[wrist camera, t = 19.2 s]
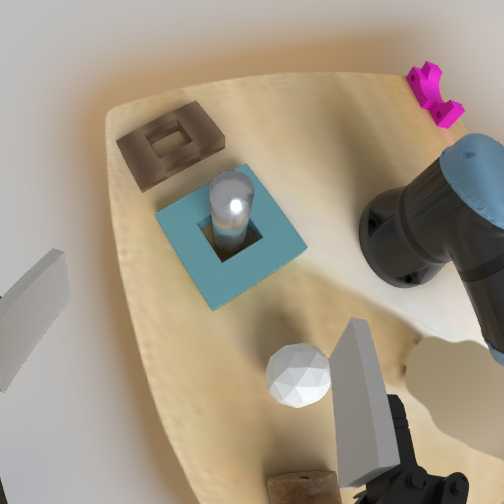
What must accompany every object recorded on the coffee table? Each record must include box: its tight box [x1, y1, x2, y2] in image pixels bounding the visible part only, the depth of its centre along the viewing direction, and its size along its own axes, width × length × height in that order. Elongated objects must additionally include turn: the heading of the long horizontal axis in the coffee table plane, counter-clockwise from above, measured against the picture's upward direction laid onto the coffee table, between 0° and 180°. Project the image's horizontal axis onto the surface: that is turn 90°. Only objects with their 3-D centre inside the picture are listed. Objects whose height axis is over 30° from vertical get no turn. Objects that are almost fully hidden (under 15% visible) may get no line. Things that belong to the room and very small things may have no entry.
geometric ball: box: [265, 343, 331, 408], centre depth 31 cm, size 8×8×8 cm
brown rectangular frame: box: [116, 101, 225, 193], centre depth 40 cm, size 14×9×3 cm, turn 124°
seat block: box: [154, 164, 308, 311], centre depth 37 cm, size 14×14×3 cm
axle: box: [209, 170, 255, 253], centre depth 32 cm, size 4×4×14 cm
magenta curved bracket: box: [406, 61, 465, 129], centre depth 48 cm, size 15×6×8 cm, turn 4°
